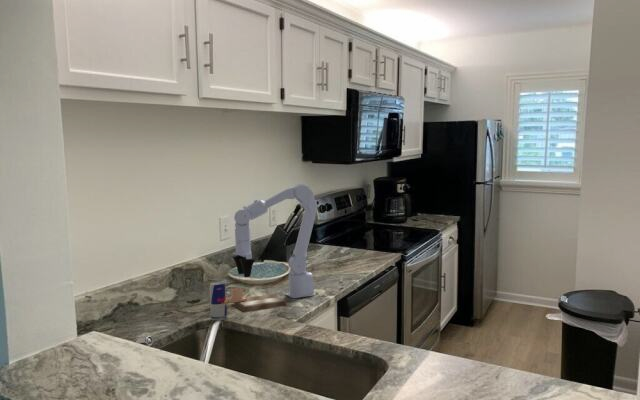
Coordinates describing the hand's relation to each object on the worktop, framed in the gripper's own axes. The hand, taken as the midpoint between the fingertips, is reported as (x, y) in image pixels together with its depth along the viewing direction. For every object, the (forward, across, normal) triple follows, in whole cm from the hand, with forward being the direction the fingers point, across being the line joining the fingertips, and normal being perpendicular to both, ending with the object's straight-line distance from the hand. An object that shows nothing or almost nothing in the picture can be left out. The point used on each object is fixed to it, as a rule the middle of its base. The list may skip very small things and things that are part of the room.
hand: (244, 275), depth 191 cm
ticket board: (+9, +11, +2) cm, 15 cm away
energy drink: (+10, +22, -16) cm, 29 cm away
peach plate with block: (+8, +8, -5) cm, 12 cm away
